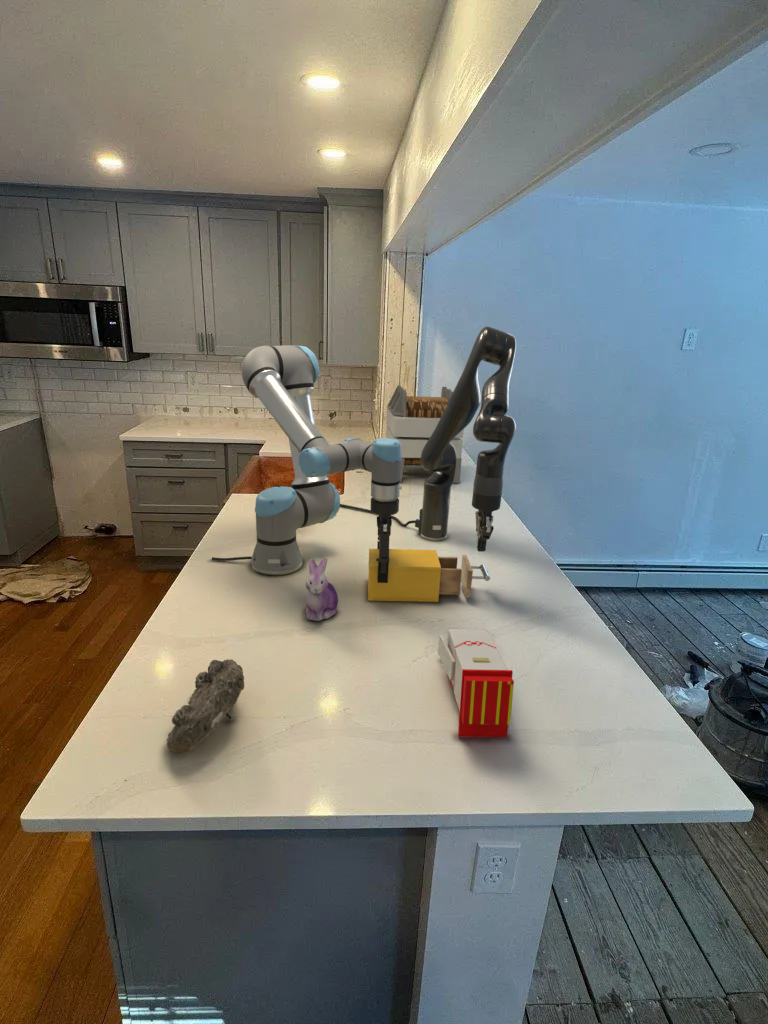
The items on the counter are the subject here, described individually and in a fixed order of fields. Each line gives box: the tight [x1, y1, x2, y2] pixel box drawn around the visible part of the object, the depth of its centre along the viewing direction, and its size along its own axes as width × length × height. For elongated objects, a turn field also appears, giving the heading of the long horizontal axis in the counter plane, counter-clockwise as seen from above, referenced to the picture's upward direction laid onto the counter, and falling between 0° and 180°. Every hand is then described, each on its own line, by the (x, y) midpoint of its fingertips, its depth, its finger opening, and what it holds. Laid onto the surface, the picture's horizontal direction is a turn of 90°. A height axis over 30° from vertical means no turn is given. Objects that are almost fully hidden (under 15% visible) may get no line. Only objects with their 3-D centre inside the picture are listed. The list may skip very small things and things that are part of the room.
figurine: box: [305, 557, 339, 622], centre depth 144 cm, size 9×10×15 cm
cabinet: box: [367, 548, 441, 603], centre depth 158 cm, size 19×12×10 cm, turn 92°
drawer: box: [438, 554, 491, 599], centre depth 158 cm, size 23×10×8 cm, turn 92°
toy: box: [437, 628, 515, 738], centre depth 117 cm, size 12×13×30 cm
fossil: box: [166, 658, 245, 754], centre depth 106 cm, size 22×10×15 cm
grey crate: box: [385, 384, 465, 484], centre depth 268 cm, size 34×33×41 cm
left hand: (382, 572), depth 157 cm, fingers closed on cabinet, 11 cm apart
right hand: (480, 550), depth 156 cm, fingers closed
